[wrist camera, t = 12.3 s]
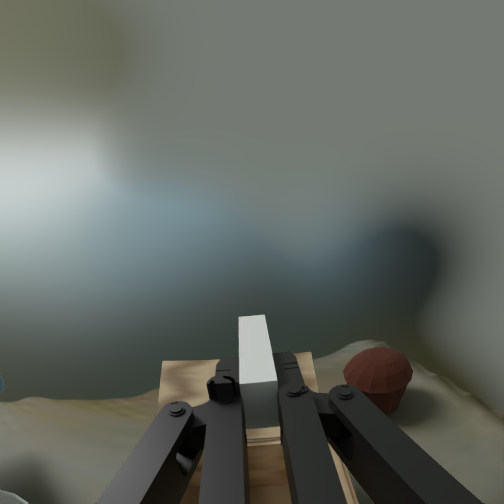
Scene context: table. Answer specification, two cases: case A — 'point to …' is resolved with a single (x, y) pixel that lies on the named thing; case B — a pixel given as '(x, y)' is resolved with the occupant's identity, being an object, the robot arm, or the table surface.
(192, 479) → the light wood open box
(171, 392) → the flap
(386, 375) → the muffin
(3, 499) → the plastic cup
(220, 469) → the robot arm
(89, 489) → the table surface
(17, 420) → the table surface
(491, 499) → the table surface
